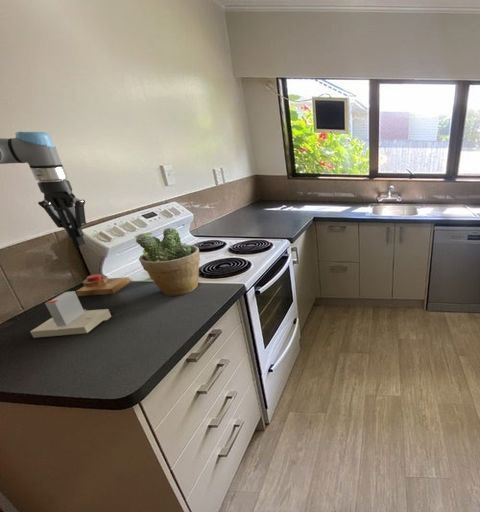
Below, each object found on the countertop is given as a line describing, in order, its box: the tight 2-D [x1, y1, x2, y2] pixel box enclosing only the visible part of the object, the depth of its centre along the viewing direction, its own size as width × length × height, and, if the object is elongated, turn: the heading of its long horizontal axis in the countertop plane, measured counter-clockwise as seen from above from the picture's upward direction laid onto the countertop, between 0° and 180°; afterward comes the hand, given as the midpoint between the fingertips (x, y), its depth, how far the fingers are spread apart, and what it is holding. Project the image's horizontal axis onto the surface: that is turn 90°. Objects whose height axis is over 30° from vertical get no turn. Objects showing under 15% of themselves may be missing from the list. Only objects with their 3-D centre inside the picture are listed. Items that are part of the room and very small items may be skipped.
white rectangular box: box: [44, 290, 85, 326], centre depth 88 cm, size 7×2×8 cm, turn 9°
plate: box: [29, 308, 112, 339], centre depth 90 cm, size 14×11×3 cm
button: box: [86, 273, 102, 282], centre depth 113 cm, size 4×4×2 cm
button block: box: [75, 274, 131, 297], centre depth 113 cm, size 12×10×4 cm
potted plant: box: [135, 227, 201, 297], centre depth 109 cm, size 18×19×25 cm
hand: (80, 244), depth 107 cm, fingers closed
